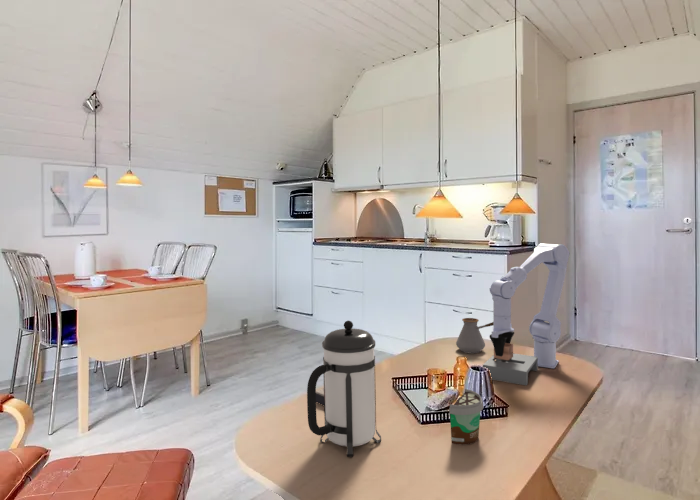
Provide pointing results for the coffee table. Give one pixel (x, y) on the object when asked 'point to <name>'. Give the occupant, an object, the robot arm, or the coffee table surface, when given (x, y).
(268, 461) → the coffee table surface
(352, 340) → the coffee press
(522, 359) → the keyhole plate
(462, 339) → the coffee pot
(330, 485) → the coffee table surface
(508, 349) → the peg
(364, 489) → the coffee table surface
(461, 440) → the food container
